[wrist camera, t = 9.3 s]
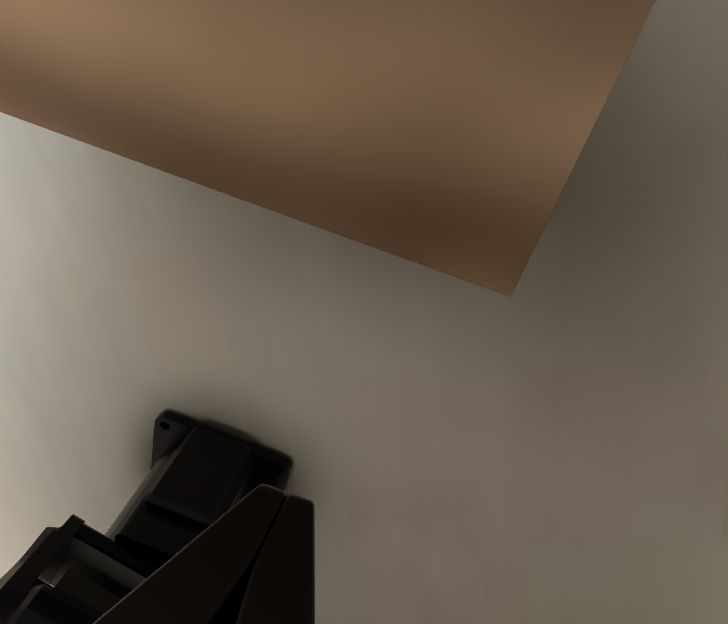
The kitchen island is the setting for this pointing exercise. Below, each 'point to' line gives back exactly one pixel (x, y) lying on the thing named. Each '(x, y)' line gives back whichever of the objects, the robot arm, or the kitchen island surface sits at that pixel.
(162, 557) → the robot arm
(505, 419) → the kitchen island surface
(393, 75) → the deck
